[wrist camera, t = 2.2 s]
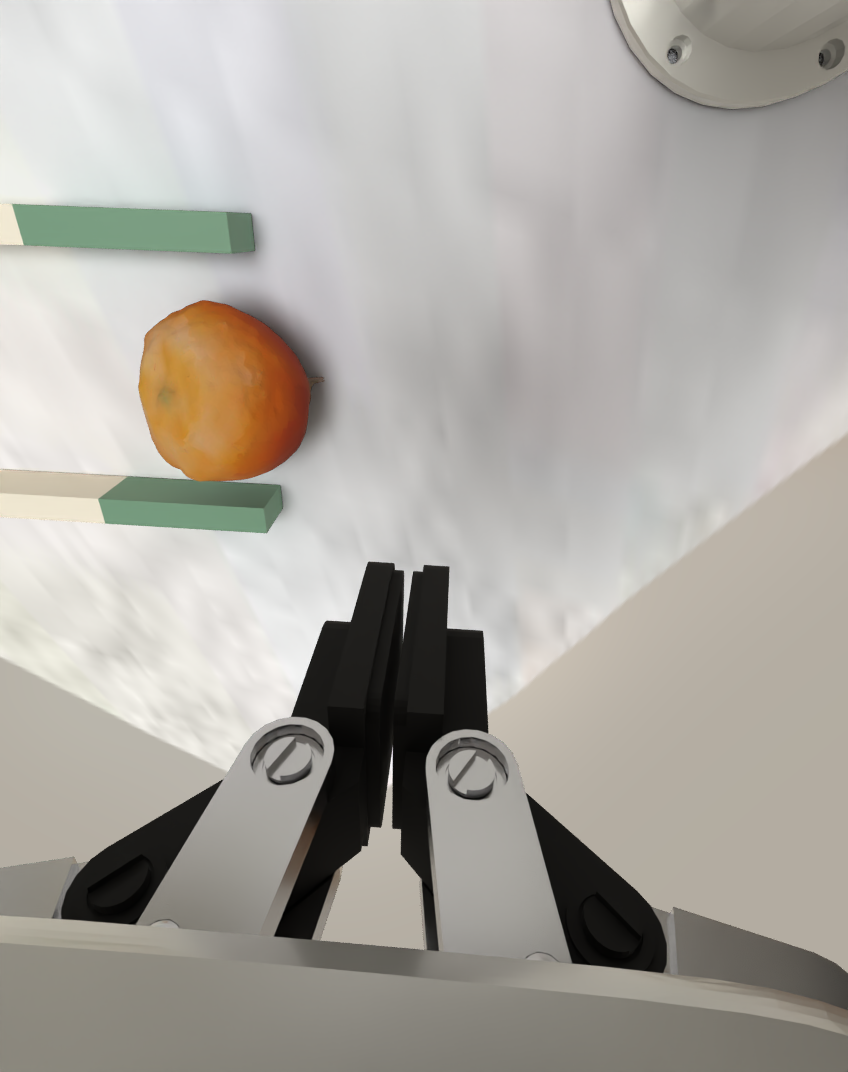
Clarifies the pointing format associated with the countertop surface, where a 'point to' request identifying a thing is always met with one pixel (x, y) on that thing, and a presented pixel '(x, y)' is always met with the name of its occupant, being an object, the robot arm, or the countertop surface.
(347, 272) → the countertop surface
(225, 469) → the fruit
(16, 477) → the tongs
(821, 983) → the robot arm
